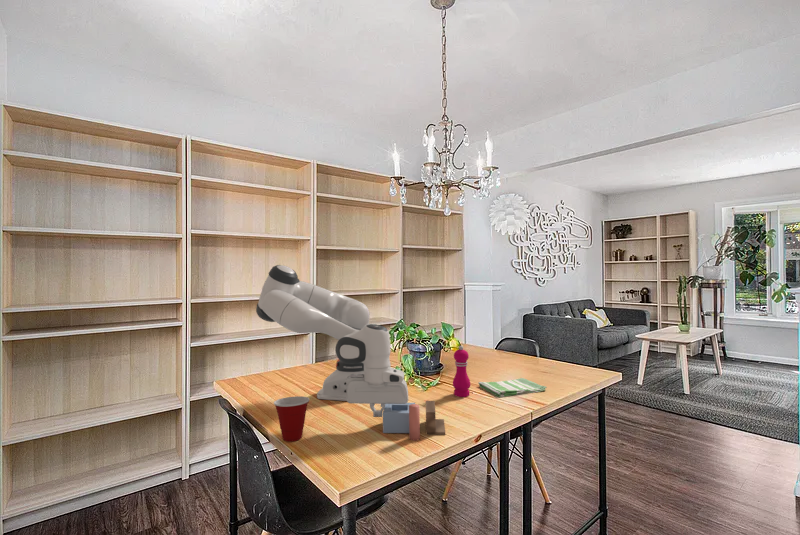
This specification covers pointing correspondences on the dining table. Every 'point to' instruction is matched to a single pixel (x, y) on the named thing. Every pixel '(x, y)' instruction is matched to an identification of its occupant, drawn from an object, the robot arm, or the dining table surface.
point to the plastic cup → (291, 416)
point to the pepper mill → (461, 373)
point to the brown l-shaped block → (433, 421)
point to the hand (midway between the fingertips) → (377, 416)
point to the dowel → (414, 422)
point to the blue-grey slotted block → (396, 418)
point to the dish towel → (511, 387)
